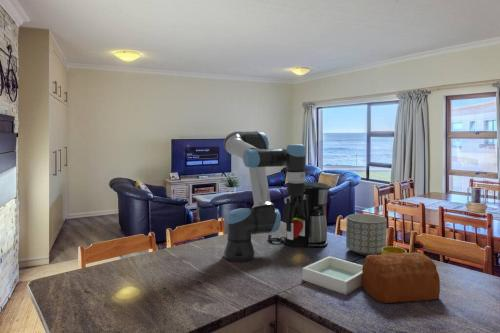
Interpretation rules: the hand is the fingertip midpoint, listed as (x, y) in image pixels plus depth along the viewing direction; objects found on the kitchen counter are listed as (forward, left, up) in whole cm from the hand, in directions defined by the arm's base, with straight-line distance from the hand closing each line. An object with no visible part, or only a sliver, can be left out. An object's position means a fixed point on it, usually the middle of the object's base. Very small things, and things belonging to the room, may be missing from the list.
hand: (296, 237), depth 145 cm
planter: (+6, +50, -18) cm, 53 cm away
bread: (+36, +17, -18) cm, 44 cm away
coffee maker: (-30, +44, -18) cm, 57 cm away
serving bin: (+13, +11, -17) cm, 24 cm away
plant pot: (+26, +36, -18) cm, 48 cm away
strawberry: (0, 0, -1) cm, 1 cm away
